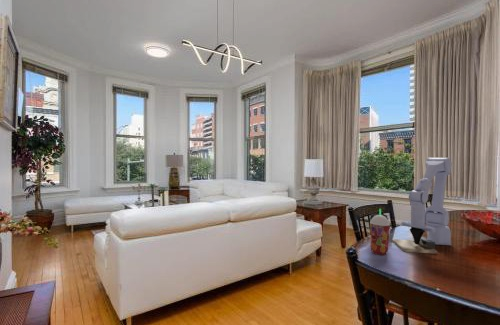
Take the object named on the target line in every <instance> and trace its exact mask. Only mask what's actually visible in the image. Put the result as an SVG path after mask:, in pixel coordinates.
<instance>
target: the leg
mask: <svg viewBox="0 0 500 325" xmlns="http://www.w3.org/2000/svg"><path fill="white" fill-rule="evenodd" d="M419 244H420V245H422V246H423V247H425V248H427V249H435V250H436V244H435V242H433V241H431V240H429V239H427V238H426V237H425V236H423V235H422V237H421V239H420V242H419Z"/></svg>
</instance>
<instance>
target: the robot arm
mask: <svg viewBox="0 0 500 325" xmlns="http://www.w3.org/2000/svg"><path fill="white" fill-rule="evenodd" d="M452 165H453V164H452V160H451V158H450V157H448V156H447V157H430V156H429V157H427V158H426V160H425V168H426V169H425V172H424V175H423V177H422V178H420V179H419V180H418V181H417V184H416V185H415V187H414V189H413V190H411V191H410V192H409V194H408V200H409V205H410V221H405V220H404V221H400V222H401V225H400V226H403V227H408V228H409V231H410V234H411V235H412V238H413V240H414V242H415V244H419V242H420V239H421V237H422V236H423V234H424V233H425V232H427V234H426V235H427V236H426V237H427V239H429V240H431V241H433V242H435V245H441V246H442V245H443V246H452V242H451V239H452V238H451V236H452V235H451V234H452V233H451V228H450V227H449V226H448V224H449V222H450V216H449V215H450V212H449V211H448V210H447V209H446V208H444V201H445V193H446V185H447V177H448V175H451V172H452V167H453V166H452ZM433 179H434V184H433V183H432V181H433ZM432 186H433V191H432V199H431V205H429V206H428V207H426V203H427V202H428V199H429V195H430V194H429V192H430V190H431V188H432ZM425 223H426V224H425Z"/></svg>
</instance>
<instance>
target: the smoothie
mask: <svg viewBox="0 0 500 325" xmlns="http://www.w3.org/2000/svg"><path fill="white" fill-rule="evenodd" d="M378 214H379V215H376V216H374V217H373V218H372V219H371V221H369V235H370V249H371V252H372V253H373V254H375V255H378V256H385V255H387V253H388V251H389V242H390V230H391V223H390V221H389V218H388V217H387V218H388V219H387V218H386V217H385V216H383V215H381V214H382V208H379V213H378Z"/></svg>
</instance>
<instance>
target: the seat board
mask: <svg viewBox="0 0 500 325" xmlns="http://www.w3.org/2000/svg"><path fill="white" fill-rule="evenodd" d="M391 243H393V244H394V243H395V246H397V247H398V249H400V250H401V251H403V252H407V253H409V252H410V253H419V254H420V253H421V254H434V255H435V254H438V251H437V250H436V248H435V249H427V248H425V247H423V246H422V245H420V244H415V242H414V239H399V238H391Z"/></svg>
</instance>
